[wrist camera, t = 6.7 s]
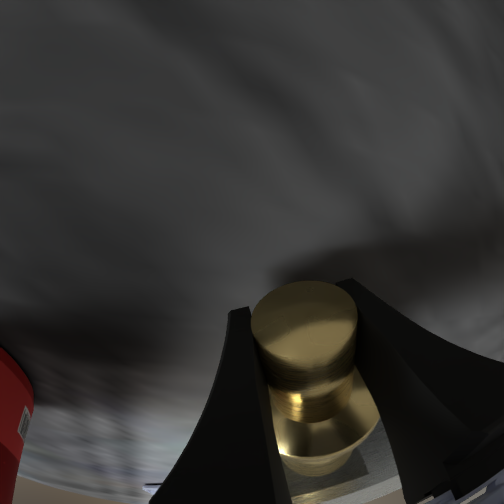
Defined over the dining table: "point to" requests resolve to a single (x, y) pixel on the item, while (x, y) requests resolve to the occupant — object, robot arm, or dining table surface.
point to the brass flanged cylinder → (313, 375)
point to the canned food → (12, 421)
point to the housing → (351, 475)
